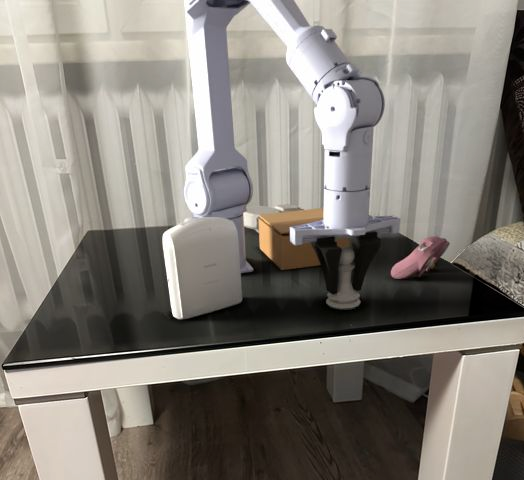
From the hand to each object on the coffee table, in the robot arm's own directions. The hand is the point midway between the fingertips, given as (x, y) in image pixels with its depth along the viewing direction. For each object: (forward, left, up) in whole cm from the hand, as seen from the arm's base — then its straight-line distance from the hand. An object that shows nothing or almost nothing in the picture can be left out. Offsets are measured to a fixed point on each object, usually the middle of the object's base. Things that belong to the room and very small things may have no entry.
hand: (343, 290), depth 73 cm
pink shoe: (+16, +7, -2) cm, 18 cm away
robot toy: (+3, +42, -2) cm, 42 cm away
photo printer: (-18, +5, -2) cm, 19 cm away
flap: (+4, +26, +4) cm, 27 cm away
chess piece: (0, 0, -2) cm, 2 cm away
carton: (+4, +23, -2) cm, 23 cm away
